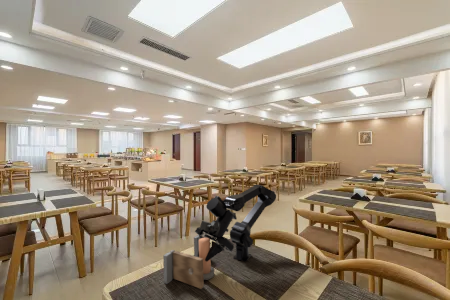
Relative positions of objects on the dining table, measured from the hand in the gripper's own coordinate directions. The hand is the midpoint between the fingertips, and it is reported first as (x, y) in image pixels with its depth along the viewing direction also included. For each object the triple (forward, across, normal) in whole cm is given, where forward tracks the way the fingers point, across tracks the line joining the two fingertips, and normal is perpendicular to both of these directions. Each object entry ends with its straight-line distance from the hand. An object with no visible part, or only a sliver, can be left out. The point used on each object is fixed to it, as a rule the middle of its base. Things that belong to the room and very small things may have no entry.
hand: (202, 258), depth 82 cm
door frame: (+6, -10, +4) cm, 13 cm away
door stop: (+4, 0, +6) cm, 7 cm away
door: (+10, -2, 0) cm, 10 cm away
